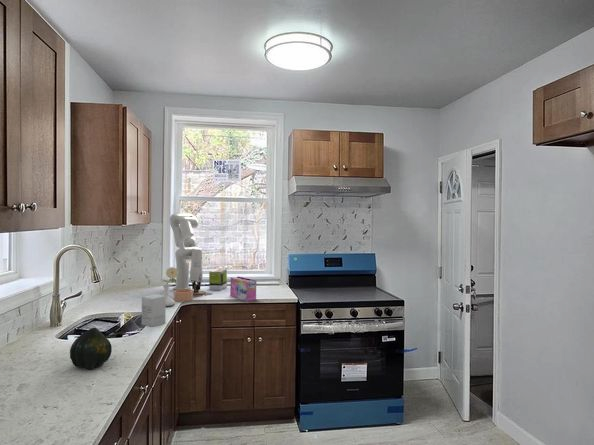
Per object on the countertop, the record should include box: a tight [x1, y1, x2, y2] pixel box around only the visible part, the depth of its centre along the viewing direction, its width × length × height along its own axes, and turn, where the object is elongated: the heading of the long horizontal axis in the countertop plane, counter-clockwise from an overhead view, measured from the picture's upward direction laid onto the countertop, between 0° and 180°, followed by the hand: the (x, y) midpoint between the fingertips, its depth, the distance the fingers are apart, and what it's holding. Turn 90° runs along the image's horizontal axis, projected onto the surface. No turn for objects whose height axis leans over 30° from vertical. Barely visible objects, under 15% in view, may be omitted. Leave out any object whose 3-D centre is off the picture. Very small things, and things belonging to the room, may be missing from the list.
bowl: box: [173, 288, 194, 302], centre depth 283 cm, size 12×12×6 cm
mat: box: [193, 291, 213, 298], centre depth 302 cm, size 17×17×1 cm
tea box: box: [208, 268, 228, 291], centre depth 326 cm, size 15×10×15 cm, turn 172°
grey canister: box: [141, 294, 166, 328], centre depth 221 cm, size 9×9×15 cm
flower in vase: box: [162, 266, 178, 307], centre depth 264 cm, size 13×11×25 cm
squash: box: [69, 327, 113, 370], centre depth 161 cm, size 14×15×15 cm
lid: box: [193, 284, 207, 295], centre depth 302 cm, size 14×14×6 cm
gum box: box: [229, 276, 257, 302], centre depth 293 cm, size 24×8×14 cm, turn 41°
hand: (196, 289), depth 302 cm, fingers open, 4 cm apart
